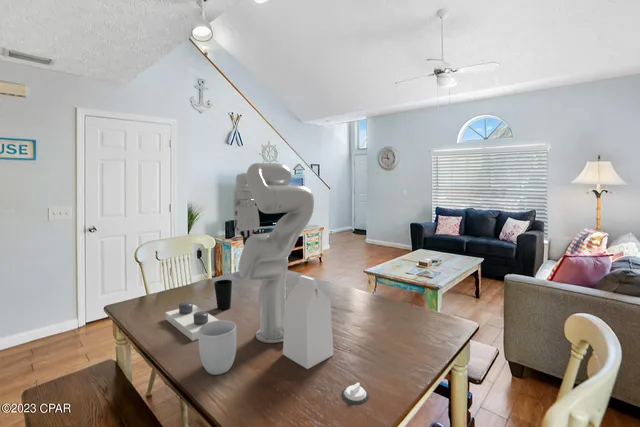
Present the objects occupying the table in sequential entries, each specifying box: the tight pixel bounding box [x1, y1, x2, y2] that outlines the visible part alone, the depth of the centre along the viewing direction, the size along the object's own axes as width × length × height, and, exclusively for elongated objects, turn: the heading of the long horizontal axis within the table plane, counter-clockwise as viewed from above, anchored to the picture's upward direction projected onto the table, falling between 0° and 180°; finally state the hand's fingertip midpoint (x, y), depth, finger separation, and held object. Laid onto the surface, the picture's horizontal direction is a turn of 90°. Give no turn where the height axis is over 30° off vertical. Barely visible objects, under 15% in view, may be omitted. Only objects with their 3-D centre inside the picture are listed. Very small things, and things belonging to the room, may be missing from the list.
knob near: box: [193, 310, 209, 325], centre depth 126 cm, size 5×5×6 cm
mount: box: [165, 304, 219, 342], centre depth 131 cm, size 26×12×3 cm, turn 45°
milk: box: [282, 275, 334, 370], centre depth 107 cm, size 12×12×26 cm
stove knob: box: [341, 381, 370, 406], centre depth 87 cm, size 7×7×3 cm
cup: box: [214, 279, 233, 312], centre depth 147 cm, size 8×8×12 cm
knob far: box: [178, 301, 194, 314], centre depth 135 cm, size 5×5×6 cm
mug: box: [197, 319, 238, 376], centre depth 101 cm, size 15×11×13 cm
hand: (247, 245), depth 141 cm, fingers closed
